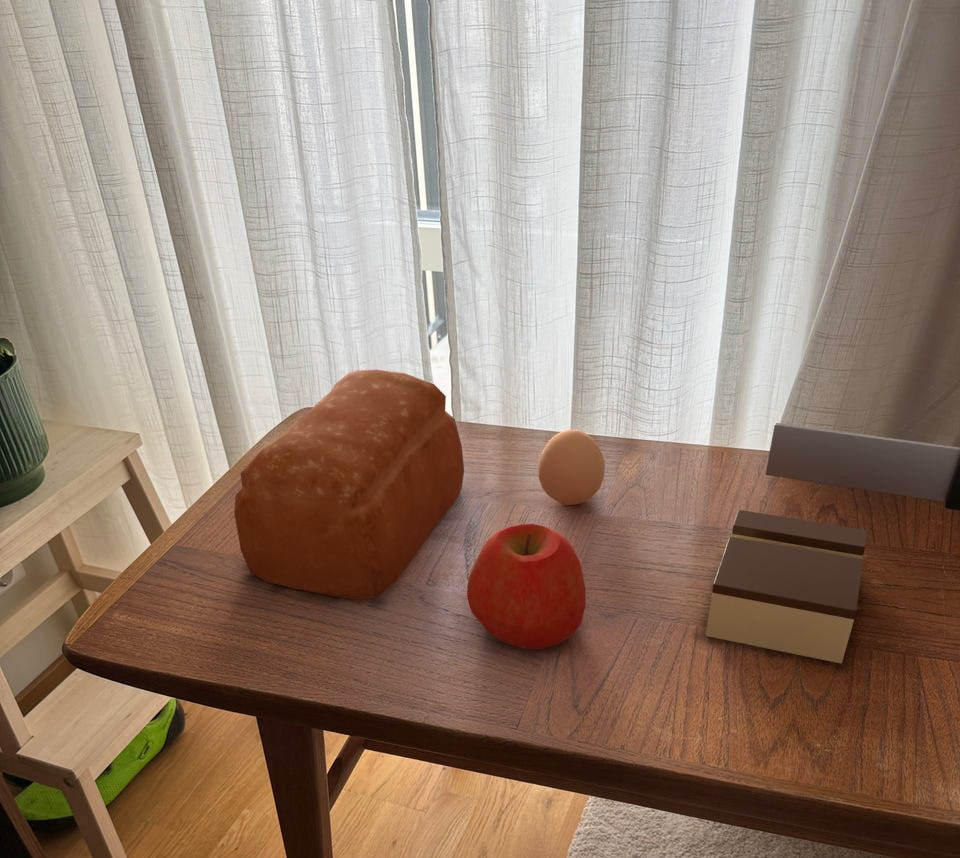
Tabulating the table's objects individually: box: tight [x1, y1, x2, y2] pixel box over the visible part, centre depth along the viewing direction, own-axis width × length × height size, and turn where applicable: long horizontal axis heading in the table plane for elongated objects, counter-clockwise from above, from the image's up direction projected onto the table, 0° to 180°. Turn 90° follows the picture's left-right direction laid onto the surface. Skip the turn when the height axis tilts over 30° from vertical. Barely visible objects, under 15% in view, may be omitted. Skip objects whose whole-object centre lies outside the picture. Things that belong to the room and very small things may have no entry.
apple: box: [466, 523, 587, 650], centre depth 84 cm, size 11×11×11 cm
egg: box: [537, 429, 606, 506], centre depth 101 cm, size 7×7×8 cm
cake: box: [705, 536, 864, 664], centre depth 84 cm, size 12×8×6 cm, turn 68°
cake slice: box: [731, 509, 868, 559], centre depth 89 cm, size 12×3×6 cm, turn 68°
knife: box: [765, 422, 960, 512], centre depth 77 cm, size 22×2×8 cm, turn 68°
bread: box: [233, 369, 465, 600], centre depth 96 cm, size 17×24×15 cm
